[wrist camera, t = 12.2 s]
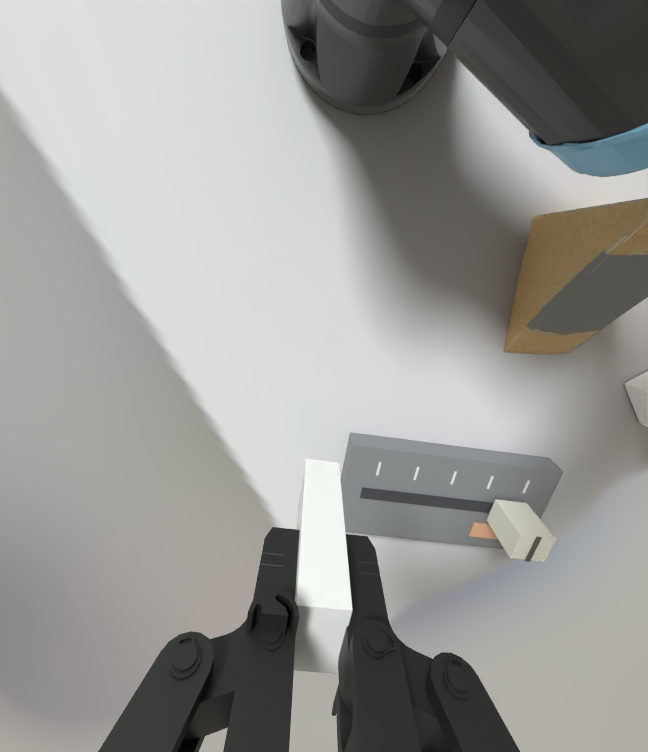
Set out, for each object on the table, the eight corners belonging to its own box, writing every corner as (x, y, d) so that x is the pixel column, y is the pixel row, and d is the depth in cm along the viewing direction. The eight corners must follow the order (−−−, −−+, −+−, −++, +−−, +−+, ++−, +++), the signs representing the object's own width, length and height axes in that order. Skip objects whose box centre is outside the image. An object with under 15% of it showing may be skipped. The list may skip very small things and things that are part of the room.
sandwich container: (500, 353, 41) (593, 407, 27) (530, 215, 36) (666, 193, 22) (569, 354, 41) (697, 409, 27) (609, 217, 36) (796, 197, 22)
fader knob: (495, 498, 44) (521, 535, 39) (526, 502, 45) (557, 539, 39) (486, 520, 46) (510, 559, 40) (516, 524, 46) (544, 563, 40)
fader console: (350, 432, 44) (352, 445, 42) (548, 458, 46) (564, 472, 43) (333, 514, 49) (334, 531, 46) (513, 534, 51) (525, 552, 48)
